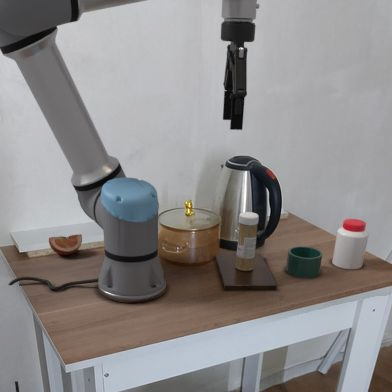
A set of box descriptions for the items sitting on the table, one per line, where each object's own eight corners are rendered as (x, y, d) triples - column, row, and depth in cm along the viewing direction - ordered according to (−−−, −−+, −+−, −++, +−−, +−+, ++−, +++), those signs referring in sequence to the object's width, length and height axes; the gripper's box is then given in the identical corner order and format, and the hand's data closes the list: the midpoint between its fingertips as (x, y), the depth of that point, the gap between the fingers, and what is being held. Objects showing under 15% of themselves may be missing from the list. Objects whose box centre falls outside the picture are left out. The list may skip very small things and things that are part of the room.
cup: (290, 278, 134) (292, 258, 132) (283, 264, 141) (285, 246, 139) (323, 277, 135) (326, 258, 132) (314, 264, 142) (317, 246, 139)
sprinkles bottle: (233, 265, 137) (237, 211, 130) (251, 264, 138) (256, 211, 131) (237, 272, 133) (241, 217, 126) (256, 271, 134) (261, 217, 127)
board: (224, 290, 127) (225, 285, 126) (215, 257, 144) (215, 253, 143) (276, 290, 128) (276, 285, 127) (260, 257, 145) (261, 253, 144)
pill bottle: (360, 259, 146) (368, 218, 141) (364, 270, 140) (373, 228, 134) (330, 257, 147) (337, 216, 141) (333, 268, 140) (341, 226, 135)
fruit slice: (79, 248, 146) (78, 229, 144) (86, 256, 141) (85, 238, 139) (47, 252, 143) (45, 233, 141) (54, 261, 138) (52, 242, 136)
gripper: (266, 22, 111) (256, 134, 122) (246, 21, 132) (239, 116, 143) (229, 20, 110) (222, 133, 121) (215, 19, 131) (211, 115, 142)
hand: (232, 124), depth 132 cm, fingers open, 13 cm apart
